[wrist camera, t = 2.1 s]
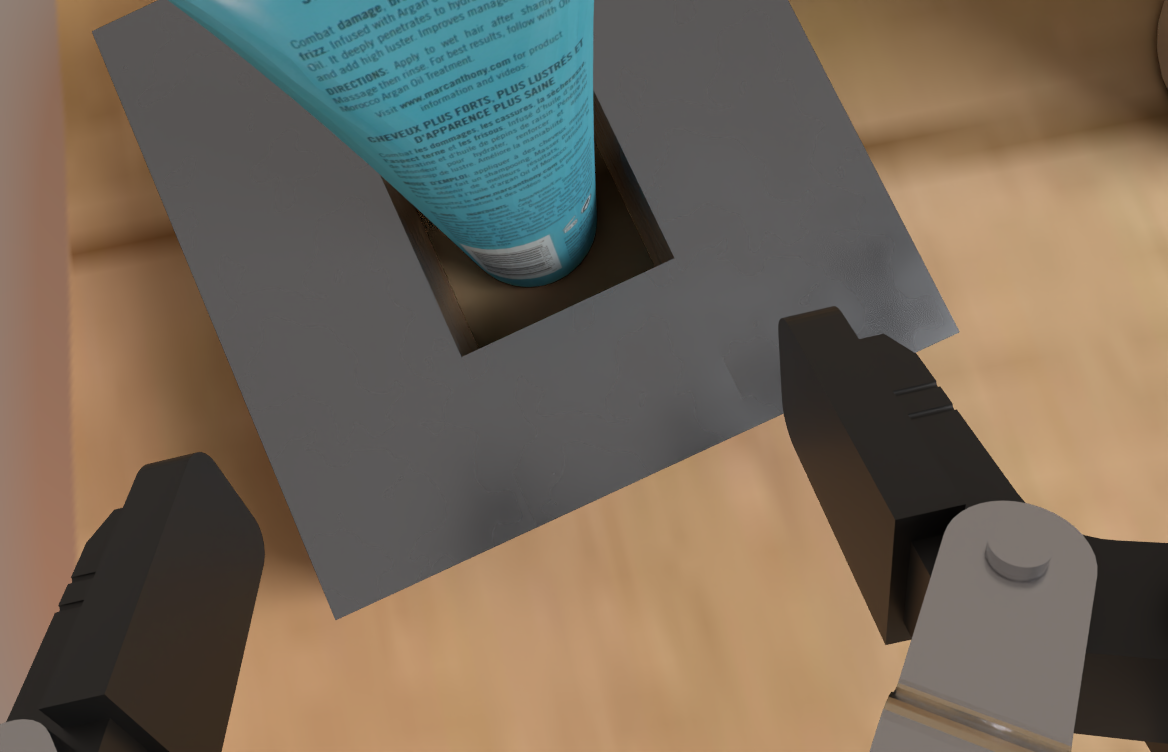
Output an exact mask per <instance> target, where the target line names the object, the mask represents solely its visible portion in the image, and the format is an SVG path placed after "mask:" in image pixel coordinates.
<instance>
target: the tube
mask: <svg viewBox="0 0 1168 752" xmlns="http://www.w3.org/2000/svg"><path fill="white" fill-rule="evenodd" d="M168 1H169V2H171V3H172V4H174V5H175V6H176V7H178V8H179V9H180V10H182V11H183V12H184V13H186V14H187V15H188V16H190V17H191V18H192V19H194V20H195V21H196V22H197V23H199V24H200V25H201V26H203V27H204V28H205V29H207V30H208V31H209V32H210V33H212V34H213V35H214V36H216V37H217V38H218V39H219V40H221V41H222V42H223V43H225V44H226V45H227V46H228V47H230V48H231V49H232V50H234V51H235V52H236V53H237V54H239V55H240V56H241V57H242V58H243V59H245V60H246V61H247V62H248V63H250V64H251V65H252V66H253V67H254V68H256V69H257V70H258V71H259V72H261V73H262V74H263V75H264V76H265V77H267V78H268V79H269V80H270V81H271V82H273V83H274V84H275V85H276V86H278V87H279V88H280V89H281V90H282V91H284V92H285V93H286V94H287V95H289V96H290V97H291V98H292V99H294V100H295V101H296V102H297V103H298V104H299V105H301V106H302V107H303V108H304V109H305V110H307V111H308V112H309V113H310V114H311V115H312V116H314V117H315V118H316V119H317V120H318V121H319V122H321V123H322V124H323V125H324V126H325V127H327V128H328V129H329V130H330V131H331V132H332V133H333V134H335V135H336V136H337V137H338V138H339V139H340V140H341V141H342V142H344V143H345V144H346V145H347V146H348V147H349V148H350V149H352V150H353V151H354V152H355V153H356V154H357V155H358V156H360V157H361V158H362V159H363V160H364V161H365V162H366V163H368V164H369V165H370V166H371V167H372V168H373V169H374V170H375V171H376V172H377V173H379V174H380V175H381V176H382V177H383V178H384V179H385V180H386V181H387V182H388V183H390V184H391V185H392V186H393V187H394V188H395V189H396V190H397V191H398V192H399V193H401V194H402V195H403V196H404V197H405V198H406V199H407V200H408V201H409V202H410V203H411V204H413V205H414V206H415V207H416V208H417V209H418V210H419V211H420V212H421V213H422V214H424V215H425V216H426V217H427V218H428V219H429V220H430V221H431V222H432V223H433V224H434V225H435V226H437V227H438V228H439V229H440V230H441V231H442V232H443V233H444V234H445V235H446V236H447V237H448V238H449V239H451V240H452V241H453V242H454V243H455V244H456V245H457V246H458V247H459V248H460V249H461V250H462V251H463V252H464V253H465V254H467V255H468V256H469V257H470V258H471V259H472V260H473V261H474V262H475V263H476V264H477V265H478V266H479V267H481V268H482V269H483V270H484V271H485V272H486V273H488V274H489V275H491V276H492V277H494V278H496V279H497V280H499V281H501V282H504V283H507V284H511V285H514V286H521V287H535V286H543V285H547V284H550V283H553V282H555V281H557V280H559V279H561V278H563V277H565V276H566V275H568V274H569V273H570V272H572V271H573V270H574V269H575V268H576V267H577V266H578V265H579V264H580V263H581V262H582V260H583V259H584V258H585V256H586V255H587V253H588V252H589V250H590V248H591V245H592V243H593V240H594V237H595V233H596V227H597V208H596V182H595V158H594V113H593V17H594V0H168Z"/></svg>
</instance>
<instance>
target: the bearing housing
mask: <svg viewBox="0 0 1168 752" xmlns="http://www.w3.org/2000/svg"><path fill="white" fill-rule="evenodd" d="M92 33H93V36H94V38H95V40H96V43H97V45H98V48H99V50H100V52H101V55H102V57H103V60H104V62H105V65H106V67H107V69H108V72H109V74H110V77H111V79H112V81H113V84H114V86H115V89H116V91H117V94H118V96H119V98H120V101H121V103H122V106H123V108H124V110H125V113H126V115H127V118H128V120H129V122H130V125H131V127H132V130H133V132H134V135H135V137H136V139H137V142H138V144H139V147H140V149H141V151H142V154H143V156H144V159H145V161H146V164H147V166H148V168H149V171H150V173H151V176H152V178H153V180H154V183H155V185H156V188H157V190H158V193H159V195H160V197H161V200H162V202H163V205H164V207H165V209H166V212H167V214H168V217H169V219H170V222H171V224H172V226H173V229H174V231H175V234H176V236H177V238H178V241H179V243H180V246H181V248H182V250H183V253H184V255H185V258H186V260H187V263H188V265H189V267H190V270H191V272H192V275H193V277H194V279H195V282H196V284H197V287H198V289H199V292H200V294H201V296H202V299H203V301H204V304H205V306H206V308H207V311H208V313H209V316H210V318H211V321H212V323H213V325H214V328H215V330H216V333H217V335H218V337H219V340H220V342H221V345H222V347H223V349H224V352H225V354H226V357H227V359H228V362H229V364H230V366H231V369H232V371H233V374H234V376H235V378H236V381H237V383H238V386H239V388H240V391H241V393H242V395H243V398H244V400H245V403H246V405H247V407H248V410H249V412H250V415H251V417H252V420H253V422H254V424H255V427H256V429H257V432H258V434H259V436H260V439H261V441H262V444H263V446H264V449H265V451H266V453H267V456H268V458H269V461H270V463H271V465H272V468H273V470H274V473H275V475H276V477H277V480H278V482H279V485H280V487H281V490H282V492H283V494H284V497H285V499H286V502H287V504H288V506H289V509H290V511H291V514H292V516H293V519H294V521H295V523H296V526H297V528H298V531H299V533H300V535H301V538H302V540H303V543H304V545H305V548H306V550H307V552H308V555H309V557H310V560H311V562H312V564H313V567H314V569H315V572H316V574H317V576H318V579H319V581H320V584H321V586H322V589H323V591H324V593H325V596H326V598H327V601H328V603H329V605H330V608H331V610H332V613H333V615H334V618H335V620H337V619H339V618H342V617H344V616H346V615H348V614H350V613H352V612H355V611H357V610H359V609H361V608H363V607H365V606H368V605H370V604H372V603H374V602H376V601H378V600H381V599H383V598H385V597H387V596H389V595H391V594H394V593H396V592H398V591H400V590H402V589H404V588H407V587H409V586H411V585H413V584H415V583H417V582H420V581H422V580H424V579H426V578H428V577H430V576H433V575H435V574H437V573H439V572H441V571H443V570H446V569H448V568H450V567H452V566H454V565H456V564H459V563H461V562H463V561H465V560H467V559H469V558H472V557H474V556H476V555H478V554H480V553H482V552H485V551H487V550H489V549H491V548H493V547H495V546H498V545H500V544H502V543H504V542H506V541H508V540H511V539H513V538H515V537H517V536H519V535H521V534H524V533H526V532H528V531H530V530H532V529H534V528H537V527H539V526H541V525H543V524H545V523H547V522H550V521H552V520H554V519H556V518H558V517H560V516H563V515H565V514H567V513H569V512H571V511H573V510H576V509H578V508H580V507H582V506H584V505H586V504H589V503H591V502H593V501H595V500H597V499H599V498H602V497H604V496H606V495H608V494H610V493H612V492H615V491H617V490H619V489H621V488H623V487H625V486H628V485H630V484H632V483H634V482H636V481H638V480H640V479H643V478H645V477H647V476H649V475H651V474H653V473H656V472H658V471H660V470H662V469H664V468H666V467H669V466H671V465H673V464H675V463H677V462H679V461H682V460H684V459H686V458H688V457H690V456H692V455H695V454H697V453H699V452H701V451H703V450H705V449H708V448H710V447H712V446H714V445H716V444H718V443H721V442H723V441H725V440H727V439H729V438H731V437H734V436H736V435H738V434H740V433H742V432H744V431H747V430H749V429H751V428H753V427H755V426H757V425H760V424H762V423H764V422H766V421H768V420H770V419H773V418H775V417H777V416H779V415H781V414H783V413H784V412H783V406H782V393H781V375H780V356H779V338H778V324H779V320H780V319H781V318H784V317H788V316H793V315H797V314H801V313H805V312H810V311H814V310H818V309H823V308H827V307H831V306H836V307H838V308H839V309H840V311H841V312H842V313H843V315H844V316H845V318H846V319H847V321H848V323H849V324H850V326H851V327H852V329H853V330H854V332H855V333H856V335H857V336H858V338H859V339H862V338H866V337H871V336H875V335H879V334H885V335H887V336H889V337H890V338H892V339H893V340H895V341H897V342H898V343H900V344H902V345H903V346H905V347H906V348H908V349H910V350H911V351H913V352H914V353H916V352H918V351H920V350H922V349H924V348H926V347H929V346H931V345H933V344H935V343H937V342H939V341H942V340H944V339H946V338H948V337H950V336H952V335H954V334H957V333H959V330H958V328H957V326H956V324H955V322H954V320H953V318H952V316H951V314H950V312H949V310H948V309H947V307H946V305H945V303H944V301H943V299H942V297H941V295H940V293H939V291H938V289H937V287H936V285H935V283H934V281H933V280H932V278H931V276H930V274H929V272H928V270H927V268H926V266H925V264H924V262H923V260H922V258H921V256H920V254H919V252H918V251H917V249H916V247H915V245H914V243H913V241H912V239H911V237H910V235H909V233H908V231H907V229H906V227H905V225H904V223H903V222H902V220H901V218H900V216H899V214H898V212H897V210H896V208H895V206H894V204H893V202H892V200H891V198H890V196H889V194H888V193H887V191H886V189H885V187H884V185H883V183H882V181H881V179H880V177H879V175H878V173H877V171H876V169H875V167H874V165H873V164H872V162H871V160H870V158H869V156H868V154H867V152H866V150H865V148H864V146H863V144H862V142H861V140H860V138H859V136H858V135H857V133H856V131H855V129H854V127H853V125H852V123H851V121H850V119H849V117H848V115H847V113H846V111H845V109H844V107H843V106H842V104H841V102H840V100H839V98H838V96H837V94H836V92H835V90H834V88H833V86H832V84H831V82H830V80H829V78H828V77H827V75H826V73H825V71H824V69H823V67H822V65H821V63H820V61H819V59H818V57H817V55H816V53H815V51H814V49H813V48H812V46H811V44H810V42H809V40H808V38H807V36H806V34H805V32H804V30H803V28H802V26H801V24H800V22H799V20H798V19H797V17H796V15H795V13H794V11H793V9H792V7H791V5H790V3H789V1H788V0H594V17H593V113H594V141H595V143H596V145H597V147H598V149H599V151H600V153H601V155H602V157H603V159H604V161H605V163H606V166H607V168H608V170H609V172H610V174H611V176H612V178H613V180H614V182H615V184H616V186H617V189H618V191H619V193H620V195H621V197H622V199H623V201H624V203H625V205H626V207H627V209H628V211H629V214H630V216H631V218H632V220H633V222H634V224H635V226H636V228H637V230H638V232H639V234H640V237H641V239H642V241H643V243H644V245H645V247H646V249H647V251H648V253H649V255H650V257H651V259H652V262H653V264H654V266H655V267H654V268H652V269H650V270H648V271H646V272H644V273H642V274H639V275H637V276H635V277H633V278H631V279H629V280H626V281H624V282H622V283H620V284H618V285H616V286H614V287H611V288H609V289H607V290H605V291H603V292H601V293H598V294H596V295H594V296H592V297H590V298H588V299H586V300H583V301H581V302H579V303H577V304H575V305H573V306H570V307H568V308H566V309H564V310H562V311H560V312H558V313H555V314H553V315H551V316H549V317H547V318H545V319H542V320H540V321H538V322H536V323H534V324H532V325H530V326H527V327H525V328H523V329H521V330H519V331H517V332H514V333H512V334H510V335H508V336H506V337H504V338H502V339H499V340H497V341H495V342H493V343H491V344H489V345H486V346H484V347H482V348H480V349H479V348H478V346H477V344H476V342H475V340H474V337H473V335H472V333H471V331H470V328H469V326H468V324H467V322H466V319H465V317H464V315H463V313H462V311H461V308H460V306H459V304H458V302H457V299H456V297H455V295H454V293H453V291H452V288H451V286H450V284H449V282H448V279H447V277H446V275H445V273H444V271H443V268H442V266H441V264H440V262H439V259H438V257H437V255H436V253H435V251H434V248H433V246H432V244H431V242H430V239H429V237H428V235H427V233H426V230H425V228H424V226H423V224H422V222H421V219H420V217H419V215H418V213H417V210H416V208H415V206H414V205H413V204H411V203H410V202H409V201H408V200H407V199H406V198H405V197H404V196H403V195H402V194H401V193H399V192H398V191H397V190H396V189H395V188H394V187H393V186H392V185H391V184H390V183H388V182H387V181H386V180H385V179H384V178H383V177H382V176H381V175H380V174H379V173H377V172H376V171H375V170H374V169H373V168H372V167H371V166H370V165H369V164H368V163H366V162H365V161H364V160H363V159H362V158H361V157H360V156H358V155H357V154H356V153H355V152H354V151H353V150H352V149H350V148H349V147H348V146H347V145H346V144H345V143H344V142H342V141H341V140H340V139H339V138H338V137H337V136H336V135H335V134H333V133H332V132H331V131H330V130H329V129H328V128H327V127H325V126H324V125H323V124H322V123H321V122H319V121H318V120H317V119H316V118H315V117H314V116H312V115H311V114H310V113H309V112H308V111H307V110H305V109H304V108H303V107H302V106H301V105H299V104H298V103H297V102H296V101H295V100H294V99H292V98H291V97H290V96H289V95H287V94H286V93H285V92H284V91H282V90H281V89H280V88H279V87H278V86H276V85H275V84H274V83H273V82H271V81H270V80H269V79H268V78H267V77H265V76H264V75H263V74H262V73H261V72H259V71H258V70H257V69H256V68H254V67H253V66H252V65H251V64H250V63H248V62H247V61H246V60H245V59H243V58H242V57H241V56H240V55H239V54H237V53H236V52H235V51H234V50H232V49H231V48H230V47H228V46H227V45H226V44H225V43H223V42H222V41H221V40H219V39H218V38H217V37H216V36H214V35H213V34H212V33H210V32H209V31H208V30H207V29H205V28H204V27H203V26H201V25H200V24H199V23H197V22H196V21H195V20H194V19H192V18H191V17H190V16H188V15H187V14H186V13H184V12H183V11H182V10H180V9H179V8H178V7H176V6H175V5H174V4H172V3H171V2H169V1H168V0H157V1H155V2H153V3H151V4H149V5H147V6H145V7H143V8H140V9H138V10H136V11H134V12H132V13H130V14H128V15H126V16H123V17H121V18H119V19H117V20H115V21H113V22H111V23H109V24H106V25H104V26H102V27H100V28H98V29H96V30H94V31H92Z"/></svg>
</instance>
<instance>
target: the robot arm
mask: <svg viewBox="0 0 1168 752" xmlns="http://www.w3.org/2000/svg"><path fill="white" fill-rule="evenodd" d="M1157 53H1158V58H1159V64H1160V69H1161V74H1162V78H1163V80H1164V82H1165V85H1166V87H1167V89H1168V0H1164V4H1163V7H1162V11H1161V15H1160V18H1159V22H1158V35H1157ZM778 338H779V356H780V375H781V393H782V406H783V412H784V417H785V422H786V425H787V429H788V432H789V435H790V438H791V441H792V444H793V446H794V448H795V450H796V453H797V455H798V457H799V459H800V461H801V463H802V465H803V468H804V470H805V472H806V474H807V476H808V478H809V481H810V483H811V485H812V487H813V489H814V491H815V494H816V496H817V498H818V500H819V502H820V504H821V507H822V509H823V511H824V513H825V515H826V517H827V519H828V522H829V524H830V526H831V528H832V530H833V532H834V535H835V537H836V539H837V541H838V543H839V545H840V548H841V550H842V552H843V554H844V556H845V558H846V561H847V563H848V565H849V567H850V569H851V571H852V573H853V576H854V578H855V580H856V582H857V584H858V586H859V589H860V591H861V593H862V595H863V597H864V599H865V602H866V604H867V606H868V608H869V610H870V612H871V615H872V617H873V619H874V621H875V623H876V625H877V627H878V630H879V632H880V634H881V636H882V638H883V640H884V643H885V645H888V644H893V643H897V642H902V641H906V640H911V639H912V640H911V643H910V646H909V650H908V653H907V656H906V659H905V663H904V666H903V669H902V672H901V676H900V679H899V682H898V684H897V687H896V689H895V691H894V692H891V693H890V695H889V697H888V699H887V701H886V703H885V706H884V709H883V711H882V714H881V717H880V720H879V723H878V726H877V730H876V733H875V736H874V739H873V742H872V746H871V749H870V752H1071V749H1072V740H1073V733H1076V734H1085V735H1093V736H1102V737H1111V738H1120V739H1129V740H1137V741H1145V743H1146V744H1147V746H1148V748H1149V749H1150V751H1151V752H1168V543H1154V542H1135V541H1116V540H1106V539H1099V538H1094V537H1090V536H1085V535H1082V534H1081V533H1080V532H1079V531H1078V530H1077V529H1076V528H1075V527H1074V526H1073V525H1071V524H1070V523H1069V522H1067V521H1066V520H1065V519H1063V518H1061V517H1060V516H1058V515H1056V514H1055V513H1053V512H1050V511H1048V510H1046V509H1043V508H1041V507H1038V506H1034V505H1031V504H1027V503H1025V502H1024V501H1023V499H1022V498H1021V497H1020V496H1019V495H1018V494H1017V492H1016V491H1015V489H1014V488H1013V487H1012V485H1011V484H1010V482H1009V481H1008V480H1007V478H1006V477H1005V476H1004V474H1003V473H1002V471H1001V470H1000V469H999V467H998V466H997V464H996V463H995V462H994V460H993V459H992V458H991V456H990V455H989V453H988V452H987V451H986V449H985V448H984V447H983V445H982V444H981V442H980V441H979V440H978V438H977V437H976V435H975V434H974V433H973V431H972V430H971V429H970V427H969V426H968V424H967V423H966V422H965V420H964V419H963V417H962V416H961V415H960V413H959V412H958V411H957V410H954V408H953V404H952V402H951V401H950V399H949V398H948V397H947V395H946V394H945V393H944V391H943V390H942V388H941V387H938V386H937V384H936V380H935V379H934V377H933V376H932V375H931V373H930V372H929V370H928V369H927V368H926V366H925V365H924V363H923V362H922V361H921V359H920V358H919V357H918V355H917V354H916V353H914V352H913V351H911V350H910V349H908V348H906V347H905V346H903V345H902V344H900V343H898V342H897V341H895V340H893V339H892V338H890V337H889V336H887V335H885V334H879V335H875V336H871V337H866V338H862V339H859V338H858V336H857V335H856V333H855V332H854V330H853V329H852V327H851V326H850V324H849V323H848V321H847V319H846V318H845V316H844V315H843V313H842V312H841V311H840V309H839V308H838V307H836V306H831V307H827V308H823V309H818V310H814V311H810V312H805V313H801V314H797V315H793V316H788V317H784V318H781V319H780V320H779V324H778ZM264 557H265V552H264V542H263V537H262V534H261V531H260V528H259V526H258V524H257V522H256V520H255V518H254V517H253V516H252V514H251V513H250V511H249V510H248V509H247V507H246V506H245V504H244V503H243V501H242V500H241V499H240V497H239V496H238V494H237V493H236V492H235V490H234V489H233V487H232V486H231V484H230V483H229V482H228V480H227V479H226V477H225V476H224V475H223V473H222V472H221V470H220V469H219V467H218V466H217V465H216V463H215V462H214V461H213V459H212V458H211V457H210V456H208V455H207V454H205V453H202V452H197V453H193V454H189V455H184V456H180V457H176V458H171V459H167V460H163V461H159V462H154V463H150V464H147V465H144V466H143V467H142V468H141V469H140V470H139V472H138V474H137V476H136V478H135V480H134V483H133V485H132V487H131V490H130V492H129V495H128V497H127V499H126V502H125V504H124V506H123V508H120V509H116V510H114V511H113V512H112V513H111V514H110V515H109V517H108V518H107V519H106V520H105V521H104V523H103V524H102V525H101V526H100V527H99V529H98V530H97V531H96V532H95V533H94V535H93V536H92V537H91V538H90V539H89V540H88V542H87V543H86V545H85V547H84V549H83V552H82V554H81V556H80V558H79V561H78V563H77V565H76V567H75V570H74V572H73V574H72V576H71V578H72V583H71V584H68V585H67V587H66V590H65V592H64V594H63V596H62V599H61V601H60V603H59V607H60V611H59V612H57V613H55V614H54V617H53V619H52V621H51V623H50V625H49V628H48V630H47V632H46V635H45V637H44V639H43V641H42V643H41V646H40V648H39V650H38V652H37V655H36V657H35V659H34V661H33V664H32V666H31V668H30V670H29V672H28V675H27V677H26V679H25V681H24V684H23V686H22V688H21V690H20V693H19V695H18V697H17V699H16V702H15V704H14V706H13V708H12V711H11V713H10V715H9V717H8V719H7V721H6V722H5V723H2V724H0V752H221V751H222V747H223V743H224V738H225V734H226V729H227V725H228V720H229V716H230V712H231V707H232V703H233V698H234V694H235V690H236V685H237V681H238V676H239V672H240V667H241V663H242V659H243V654H244V650H245V645H246V641H247V637H248V632H249V628H250V623H251V619H252V614H253V610H254V606H255V601H256V597H257V592H258V588H259V583H260V579H261V575H262V570H263V566H264Z"/></svg>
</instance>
